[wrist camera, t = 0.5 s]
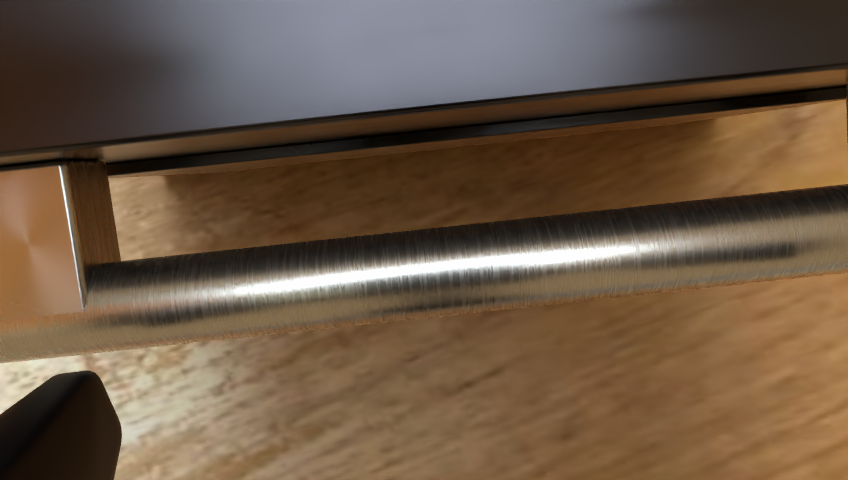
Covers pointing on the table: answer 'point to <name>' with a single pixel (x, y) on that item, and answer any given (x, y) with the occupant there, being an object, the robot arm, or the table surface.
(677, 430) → the table surface
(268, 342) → the table surface
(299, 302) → the oven door
